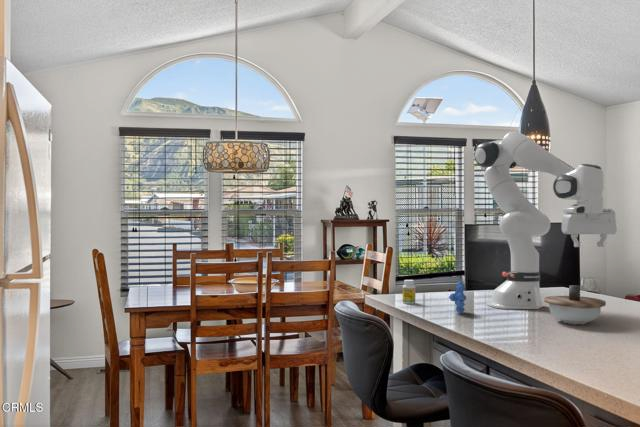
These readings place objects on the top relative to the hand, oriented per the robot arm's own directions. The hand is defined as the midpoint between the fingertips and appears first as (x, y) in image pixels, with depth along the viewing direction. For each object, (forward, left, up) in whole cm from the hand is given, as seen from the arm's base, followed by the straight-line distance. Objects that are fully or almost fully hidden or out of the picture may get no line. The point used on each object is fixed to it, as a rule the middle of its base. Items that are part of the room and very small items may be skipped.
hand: (588, 246), depth 217 cm
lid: (-8, -3, -20) cm, 21 cm away
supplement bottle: (-51, +48, -27) cm, 75 cm away
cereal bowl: (-8, -3, -27) cm, 28 cm away
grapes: (-41, +22, -27) cm, 53 cm away
